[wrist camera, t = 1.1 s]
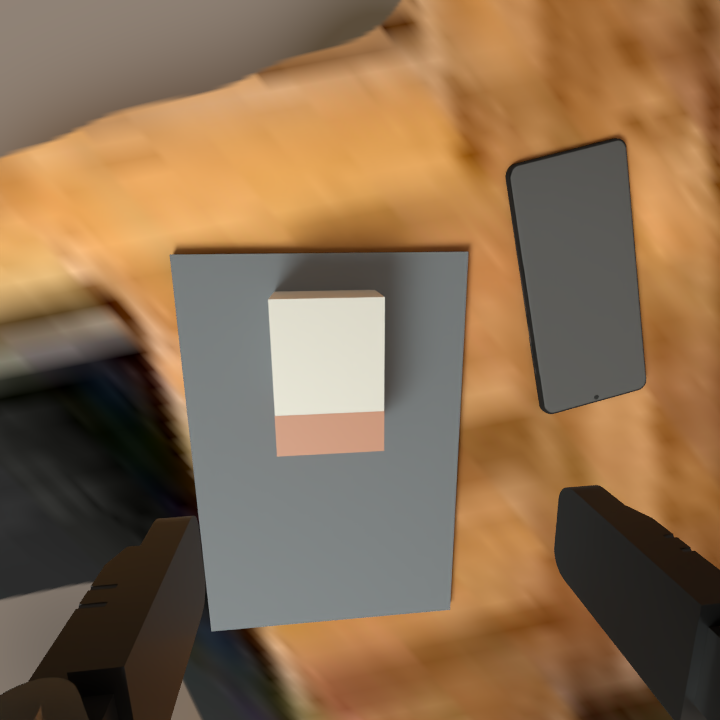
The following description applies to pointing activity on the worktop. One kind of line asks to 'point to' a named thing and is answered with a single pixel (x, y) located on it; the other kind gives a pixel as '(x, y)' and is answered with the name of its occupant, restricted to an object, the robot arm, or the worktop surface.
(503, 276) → the worktop surface
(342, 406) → the card box
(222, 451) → the mat
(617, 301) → the smartphone
